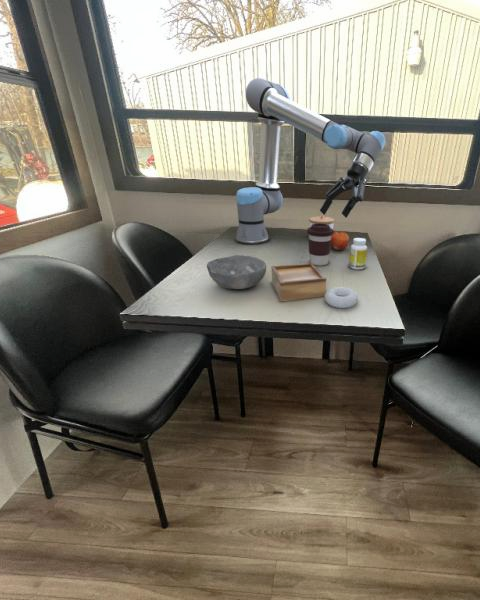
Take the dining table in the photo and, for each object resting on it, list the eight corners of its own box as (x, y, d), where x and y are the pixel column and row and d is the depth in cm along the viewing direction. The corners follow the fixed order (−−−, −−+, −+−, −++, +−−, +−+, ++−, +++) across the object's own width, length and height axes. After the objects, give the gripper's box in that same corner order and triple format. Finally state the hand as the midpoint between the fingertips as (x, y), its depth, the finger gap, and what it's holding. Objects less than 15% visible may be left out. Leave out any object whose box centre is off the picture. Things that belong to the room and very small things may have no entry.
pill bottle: (366, 266, 117) (370, 238, 112) (362, 271, 112) (365, 242, 107) (352, 263, 119) (354, 236, 114) (346, 268, 114) (349, 240, 109)
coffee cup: (329, 268, 113) (331, 229, 106) (303, 265, 115) (304, 227, 108) (333, 260, 122) (335, 223, 115) (309, 257, 123) (310, 221, 116)
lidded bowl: (307, 233, 158) (308, 212, 153) (331, 233, 160) (332, 212, 155) (309, 240, 147) (310, 217, 142) (334, 240, 149) (336, 218, 144)
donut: (353, 295, 93) (322, 294, 92) (355, 285, 92) (323, 284, 91) (360, 310, 84) (325, 310, 83) (361, 300, 83) (326, 299, 82)
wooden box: (271, 283, 99) (271, 266, 96) (311, 279, 103) (312, 262, 100) (281, 301, 87) (280, 283, 84) (325, 296, 92) (326, 278, 89)
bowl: (276, 291, 93) (275, 267, 90) (219, 303, 85) (216, 277, 81) (255, 272, 107) (253, 250, 103) (204, 281, 98) (201, 258, 94)
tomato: (347, 252, 132) (348, 234, 128) (326, 250, 133) (327, 233, 129) (349, 246, 140) (350, 229, 136) (329, 244, 141) (330, 228, 137)
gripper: (388, 175, 110) (359, 222, 109) (344, 176, 129) (319, 216, 127) (378, 160, 105) (348, 210, 104) (334, 163, 124) (308, 205, 122)
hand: (332, 214), depth 116 cm, fingers open, 13 cm apart
